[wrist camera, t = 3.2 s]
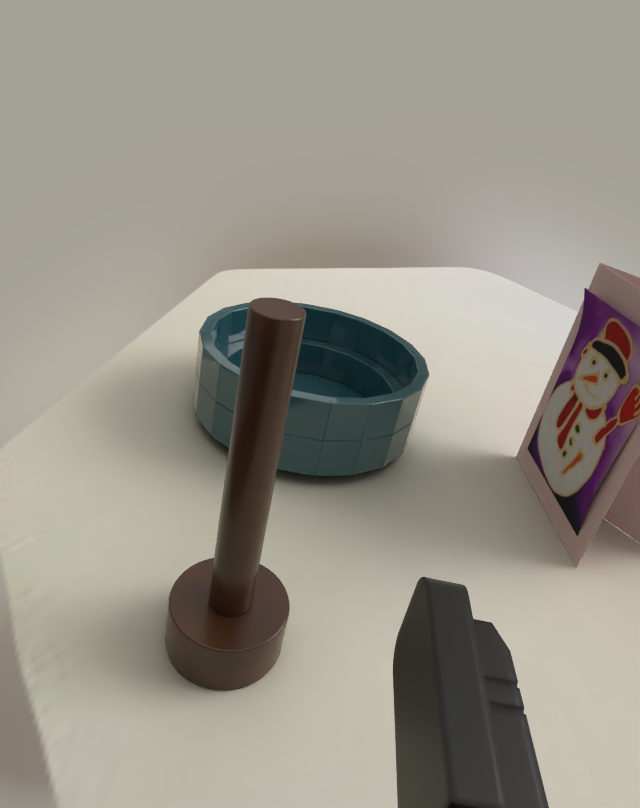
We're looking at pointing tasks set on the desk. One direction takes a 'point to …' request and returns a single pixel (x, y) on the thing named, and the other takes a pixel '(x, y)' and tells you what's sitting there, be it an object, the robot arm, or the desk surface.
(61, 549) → the desk surface
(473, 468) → the desk surface
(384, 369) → the bowl
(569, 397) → the greeting card
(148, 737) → the desk surface
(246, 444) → the brown joystick
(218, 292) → the desk surface
